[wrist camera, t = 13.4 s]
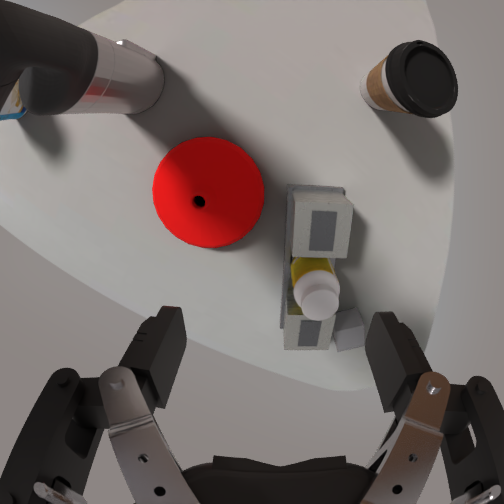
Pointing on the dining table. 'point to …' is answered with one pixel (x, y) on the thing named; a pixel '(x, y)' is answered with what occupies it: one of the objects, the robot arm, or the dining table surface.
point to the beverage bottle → (13, 105)
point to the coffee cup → (412, 81)
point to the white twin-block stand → (312, 255)
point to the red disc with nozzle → (208, 192)
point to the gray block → (348, 330)
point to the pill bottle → (315, 287)
